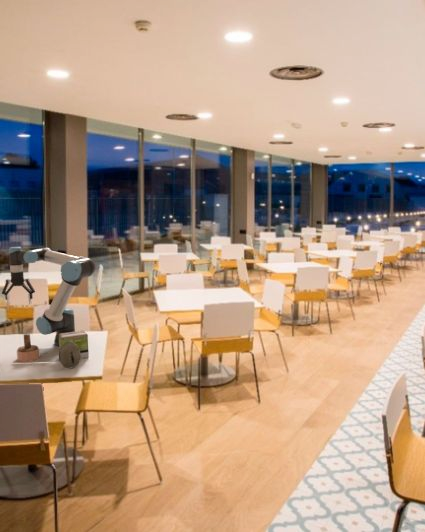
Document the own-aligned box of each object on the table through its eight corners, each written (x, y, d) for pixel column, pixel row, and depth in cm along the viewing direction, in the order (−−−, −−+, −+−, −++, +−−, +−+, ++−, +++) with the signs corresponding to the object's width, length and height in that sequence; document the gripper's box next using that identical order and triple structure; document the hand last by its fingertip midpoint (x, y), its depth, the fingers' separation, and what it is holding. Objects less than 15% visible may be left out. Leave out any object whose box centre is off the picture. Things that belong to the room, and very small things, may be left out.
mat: (51, 349, 342) (51, 348, 342) (46, 354, 331) (46, 353, 331) (33, 349, 342) (33, 348, 342) (28, 355, 331) (28, 354, 331)
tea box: (63, 362, 316) (61, 337, 314) (59, 357, 325) (58, 333, 323) (89, 357, 323) (87, 333, 321) (84, 353, 332) (83, 329, 330)
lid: (40, 346, 328) (39, 331, 327) (34, 351, 317) (33, 337, 316) (21, 346, 328) (20, 332, 327) (15, 352, 317) (13, 337, 316)
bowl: (41, 355, 330) (41, 345, 329) (35, 362, 318) (34, 352, 317) (21, 356, 329) (20, 346, 329) (14, 362, 318) (14, 352, 317)
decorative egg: (84, 368, 304) (82, 342, 302) (62, 372, 298) (61, 346, 296) (77, 362, 314) (76, 337, 312) (57, 366, 308) (55, 340, 306)
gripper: (38, 269, 350) (40, 302, 353) (-1, 271, 349) (1, 303, 353) (34, 271, 342) (37, 305, 346) (-6, 273, 342) (-3, 306, 345)
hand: (19, 304), depth 349 cm, fingers open, 13 cm apart
